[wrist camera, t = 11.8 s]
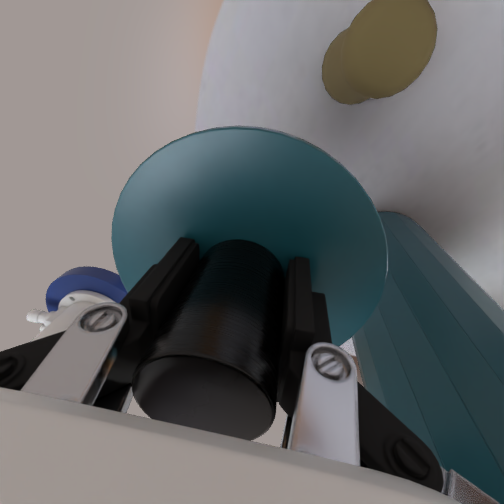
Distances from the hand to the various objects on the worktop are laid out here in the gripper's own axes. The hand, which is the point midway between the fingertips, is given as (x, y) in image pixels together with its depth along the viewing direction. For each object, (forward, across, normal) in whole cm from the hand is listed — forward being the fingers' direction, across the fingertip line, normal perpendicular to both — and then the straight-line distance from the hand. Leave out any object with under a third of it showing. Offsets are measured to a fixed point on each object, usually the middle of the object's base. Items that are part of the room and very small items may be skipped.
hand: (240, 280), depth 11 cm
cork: (+22, -6, -10) cm, 25 cm away
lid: (+1, 0, 0) cm, 1 cm away
